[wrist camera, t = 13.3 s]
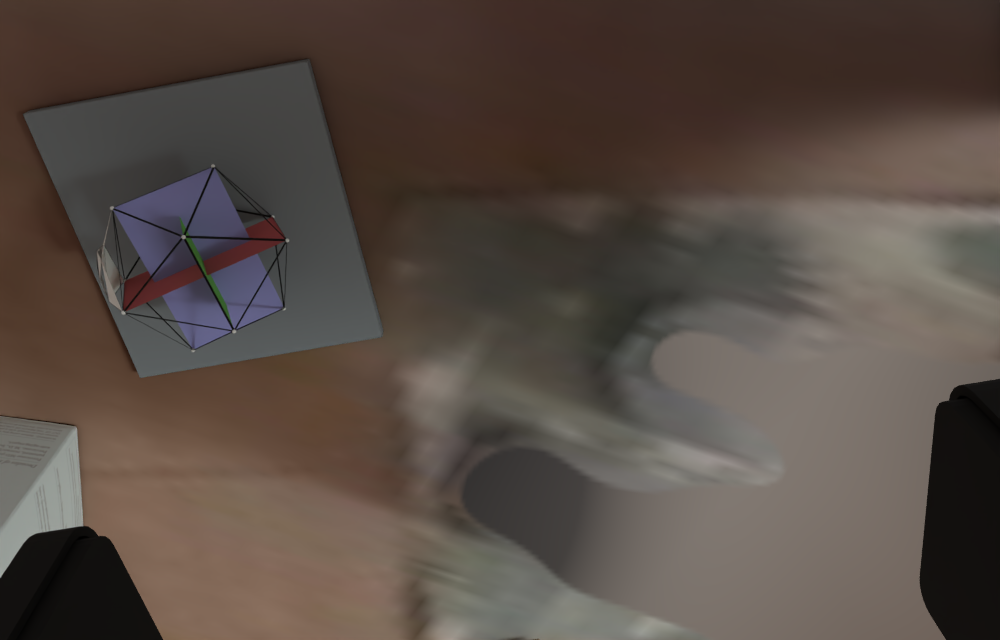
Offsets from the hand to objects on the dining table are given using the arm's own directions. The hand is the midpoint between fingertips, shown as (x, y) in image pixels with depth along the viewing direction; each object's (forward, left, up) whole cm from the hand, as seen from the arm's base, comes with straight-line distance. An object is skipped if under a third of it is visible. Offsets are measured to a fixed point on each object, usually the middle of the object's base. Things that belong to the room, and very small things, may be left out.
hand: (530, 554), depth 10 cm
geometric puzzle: (+13, +5, -28) cm, 31 cm away
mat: (+13, +5, -28) cm, 32 cm away
